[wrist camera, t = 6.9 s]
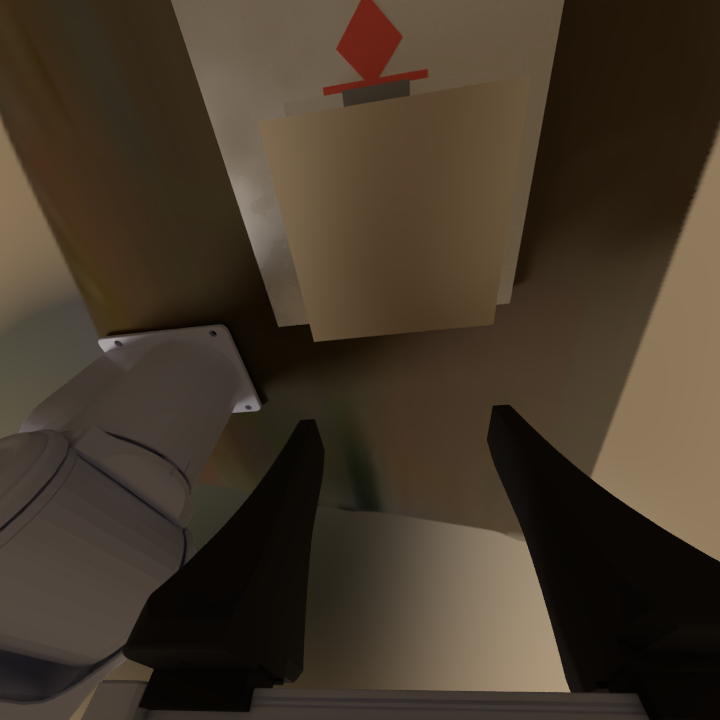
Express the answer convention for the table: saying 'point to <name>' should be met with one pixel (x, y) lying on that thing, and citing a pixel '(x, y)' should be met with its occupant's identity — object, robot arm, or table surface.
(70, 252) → the table surface
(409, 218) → the post
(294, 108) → the jack base
